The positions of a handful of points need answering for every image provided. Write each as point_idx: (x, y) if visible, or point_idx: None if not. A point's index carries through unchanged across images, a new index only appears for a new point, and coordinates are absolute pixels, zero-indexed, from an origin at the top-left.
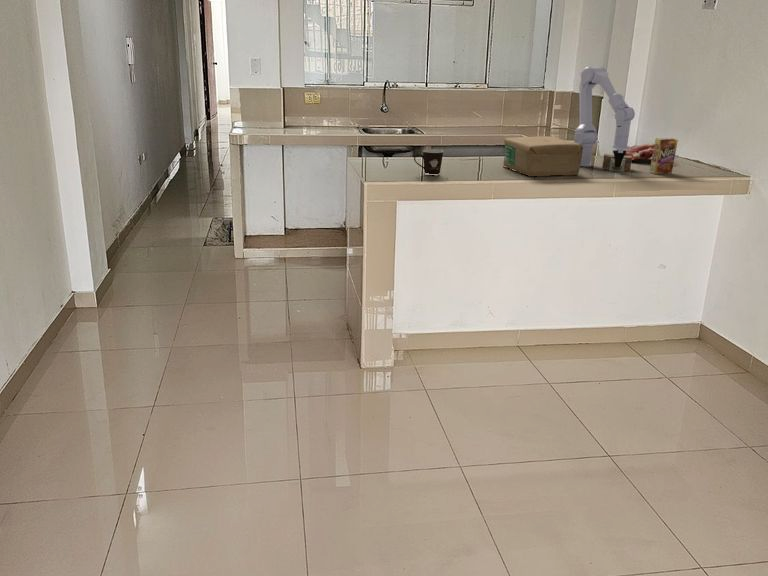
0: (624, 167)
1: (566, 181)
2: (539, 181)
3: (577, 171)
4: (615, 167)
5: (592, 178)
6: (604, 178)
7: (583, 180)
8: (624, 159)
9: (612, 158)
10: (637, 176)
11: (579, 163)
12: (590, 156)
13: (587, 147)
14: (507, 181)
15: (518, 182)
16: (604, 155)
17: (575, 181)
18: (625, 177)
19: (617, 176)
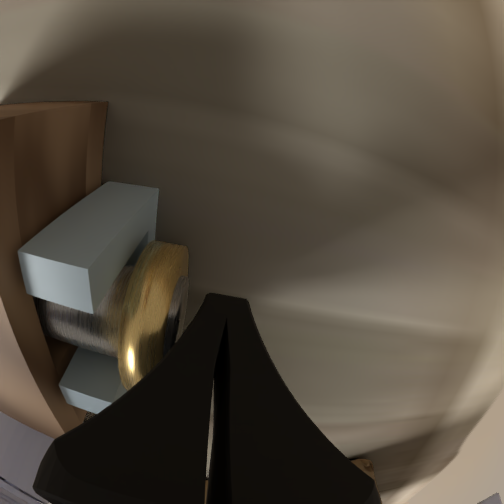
0: (82, 185)
1: (449, 451)
2: (423, 477)
3: (372, 471)
4: (184, 317)
5: (440, 414)
6: (460, 377)
7: (458, 427)
8: (58, 274)
9: (72, 395)
10: (452, 117)
11: (381, 501)
12: (22, 427)
13: (34, 496)
14: (402, 497)
15: (418, 488)
16: (33, 428)
17: (459, 438)
18: (478, 257)
19: (434, 309)
